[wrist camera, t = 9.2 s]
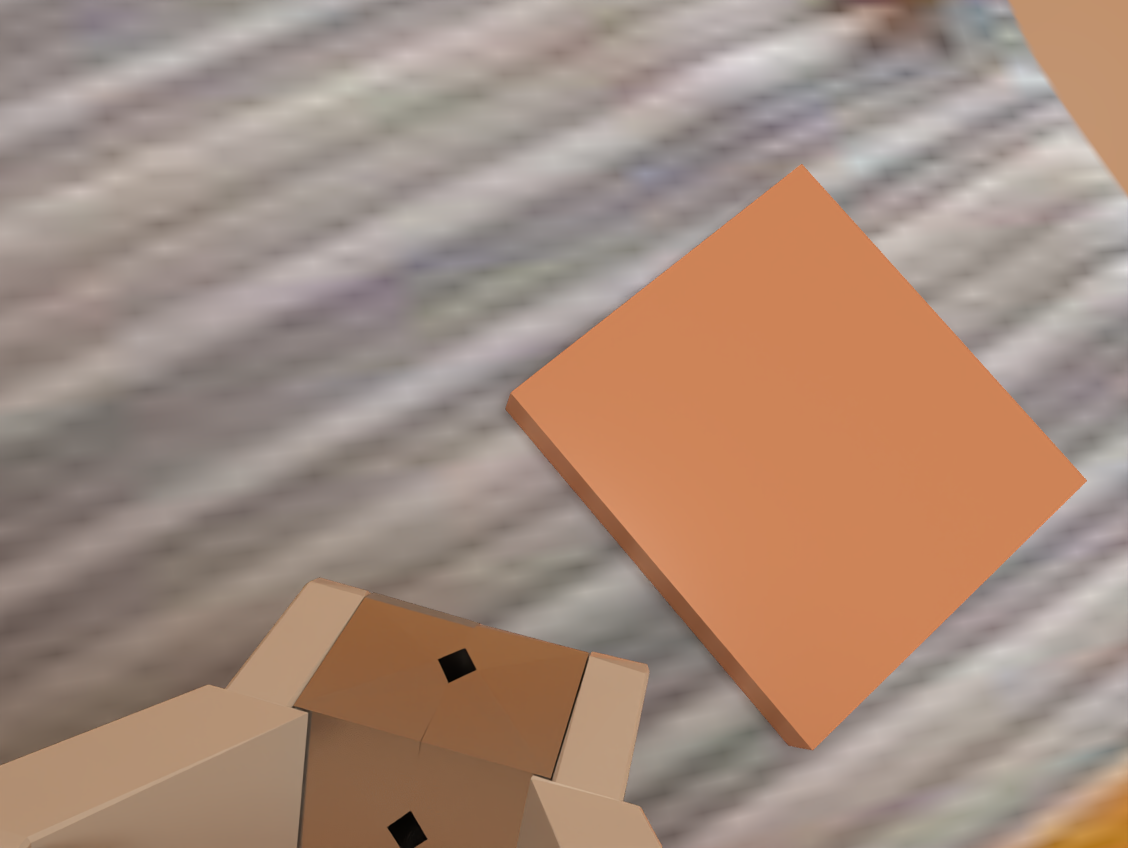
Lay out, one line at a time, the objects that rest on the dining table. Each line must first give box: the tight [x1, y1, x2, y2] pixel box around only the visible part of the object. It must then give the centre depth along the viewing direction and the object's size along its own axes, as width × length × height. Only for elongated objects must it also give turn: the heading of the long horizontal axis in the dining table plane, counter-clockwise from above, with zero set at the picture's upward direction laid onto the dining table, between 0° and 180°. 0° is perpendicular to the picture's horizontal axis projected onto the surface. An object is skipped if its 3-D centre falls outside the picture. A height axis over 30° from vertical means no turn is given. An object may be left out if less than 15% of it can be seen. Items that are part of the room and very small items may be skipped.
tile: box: [506, 164, 1087, 750], centre depth 30 cm, size 2×12×11 cm
